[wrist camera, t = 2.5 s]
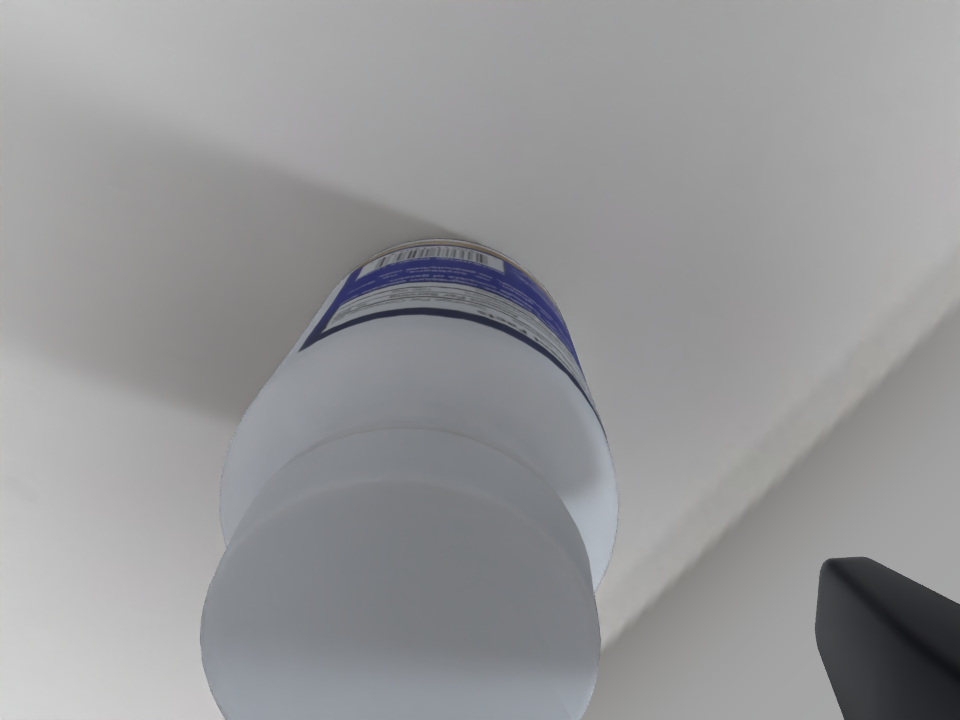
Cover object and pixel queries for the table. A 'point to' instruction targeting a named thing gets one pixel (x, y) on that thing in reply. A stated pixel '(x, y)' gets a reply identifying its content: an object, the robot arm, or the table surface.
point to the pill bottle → (416, 507)
